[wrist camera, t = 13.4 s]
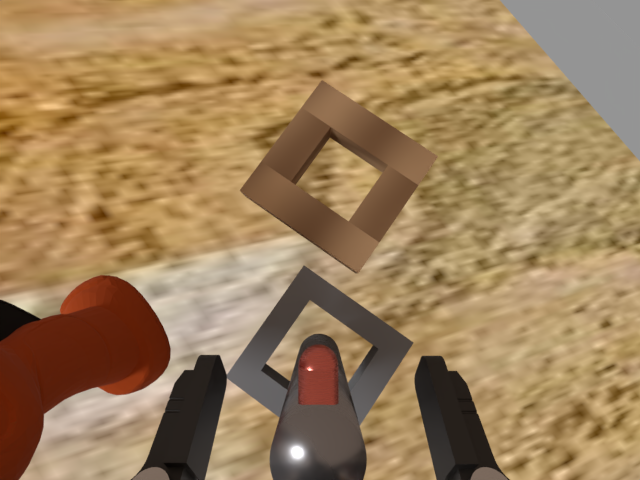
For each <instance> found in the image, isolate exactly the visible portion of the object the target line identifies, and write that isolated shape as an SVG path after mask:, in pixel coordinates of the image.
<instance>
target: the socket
mask: <svg viewBox="0 0 640 480" xmlns="http://www.w3.org/2000/svg"><path fill="white" fill-rule="evenodd" d="M309 300H311V301H312V302H313V303H315V304H316V305H318V306H319V307H320V308H322V309H323V310H325V311H326V312H327V313H329V314H330V315H332V316H333V317H334V318H336V319H337V320H339V321H340V322H341V323H343V324H344V325H346V326H347V327H348V328H350V329H351V330H353V331H354V332H355V333H357V334H358V335H360V336H361V337H362V338H364V339H365V340H367V341H368V342H370V343H371V344H372V345H373V346H372V347H371V349H370V350H369V352H368V353H367V355H366V356H365V358H364V359H363V361H362V363H361V364H360V366H359V367H358V369H357V370H356V372H355V373H354V375H353V376H352V378H351V379H350V381H349V382H348V385H349V389H350V393H351V396H352V400H353V404H354V407H355V411H356V414H357V418H358V422H359V425H361V423H362V422H363V420H364V419H365V417H366V416H367V414H368V412H369V411H370V409H371V408H372V406H373V405H374V403H375V402H376V400H377V399H378V397H379V395H380V394H381V392H382V391H383V389H384V388H385V386H386V385H387V383H388V382H389V380H390V379H391V377H392V375H393V374H394V372H395V371H396V369H397V368H398V366H399V365H400V363H401V362H402V360H403V358H404V357H405V355H406V354H407V352H408V351H409V349H410V348H411V346H412V345H413V343H414V342H412V341H411V340H409V339H408V338H407V337H405V336H404V335H402V334H401V333H399V332H398V331H397V330H395V329H394V328H392V327H391V326H390V325H388V324H387V323H385V322H384V321H382V320H381V319H380V318H378V317H377V316H375V315H374V314H373V313H371V312H370V311H368V310H367V309H365V308H364V307H363V306H361V305H360V304H358V303H357V302H355V301H354V300H353V299H351V298H350V297H348V296H347V295H346V294H344V293H343V292H341V291H340V290H338V289H337V288H336V287H334V286H333V285H331V284H330V283H329V282H327V281H326V280H324V279H323V278H321V277H320V276H319V275H317V274H316V273H314V272H313V271H311V270H310V269H309V268H307V267H306V266H303V267H302V269H301V270H300V271H299V273H298V274H297V276H296V277H295V279H294V280H293V281H292V283H291V284H290V286H289V287H288V289H287V290H286V291H285V293H284V294H283V296H282V297H281V298H280V300H279V301H278V303H277V304H276V306H275V307H274V308H273V310H272V311H271V313H270V314H269V316H268V317H267V318H266V320H265V321H264V323H263V324H262V325H261V327H260V328H259V330H258V331H257V333H256V334H255V335H254V337H253V338H252V340H251V341H250V343H249V344H248V345H247V347H246V348H245V350H244V351H243V352H242V354H241V355H240V357H239V358H238V360H237V361H236V362H235V364H234V365H233V367H232V368H231V369H230V371H229V372H228V374H227V379H228V380H230V381H231V382H232V383H234V384H235V385H236V386H238V387H239V388H240V389H242V390H243V391H244V392H246V393H247V394H248V395H250V396H251V397H252V398H254V399H255V400H256V401H258V402H259V403H261V404H262V405H263V406H265V407H266V408H267V409H269V410H270V411H271V412H273V413H274V414H275V415H277V416H278V417H279V418H280V414H281V411H282V407H283V404H284V400H285V397H286V394H287V390H288V387H289V383H290V381H289V380H288V379H286V378H285V377H284V376H282V375H281V374H280V373H278V372H277V371H275V370H274V369H273V368H271V367H270V366H269V365H267V364H266V362H267V361H268V360H269V358H270V357H271V355H272V354H273V352H274V351H275V349H276V348H277V347H278V345H279V344H280V342H281V341H282V339H283V338H284V336H285V335H286V334H287V332H288V331H289V329H290V328H291V326H292V325H293V323H294V322H295V321H296V319H297V318H298V316H299V315H300V313H301V312H302V311H303V309H304V308H305V306H306V305H307V303H308V302H309Z"/></svg>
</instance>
